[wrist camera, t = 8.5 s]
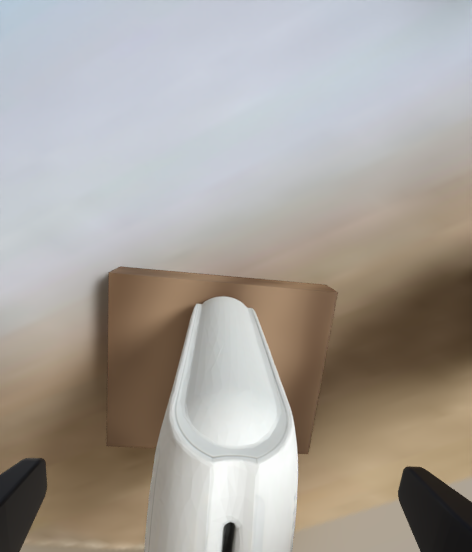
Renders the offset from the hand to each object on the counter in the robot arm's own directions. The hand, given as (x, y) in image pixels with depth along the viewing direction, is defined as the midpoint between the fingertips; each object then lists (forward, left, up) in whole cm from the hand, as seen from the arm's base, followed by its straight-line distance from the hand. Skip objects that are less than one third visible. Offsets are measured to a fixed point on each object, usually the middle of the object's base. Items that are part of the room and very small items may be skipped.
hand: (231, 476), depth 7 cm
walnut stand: (0, +4, -13) cm, 13 cm away
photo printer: (0, +4, -11) cm, 12 cm away
